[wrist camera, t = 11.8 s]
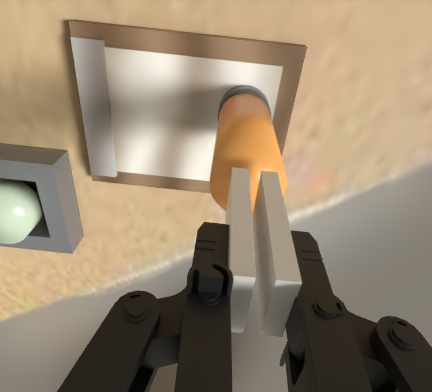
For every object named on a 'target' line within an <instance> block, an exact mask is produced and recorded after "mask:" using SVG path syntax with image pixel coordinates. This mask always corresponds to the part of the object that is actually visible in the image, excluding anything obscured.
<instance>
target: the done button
mask: <svg viewBox="0 0 432 392" xmlns="http://www.w3.org/2000/svg"><path fill="white" fill-rule="evenodd" d="M43 215H44V212H43V208H42V204H41V200H40V197H39V195H38V194H37V193H36V192H35V191H34V190H33V189H32V188H31V187H30V186H28V185H27V184H25V183H23V182H21V181H19V180H15V179H5V178H0V243H2V244H15V243H18V242H21V241H22V240H24V239H25V238H26V236H27V235H28V234H29V233H30V232H31V231H32V229H33V228H34V227H35V226H36V225H37V223H38V222H39V221H40V220H41V219H42V217H43Z"/></svg>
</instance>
